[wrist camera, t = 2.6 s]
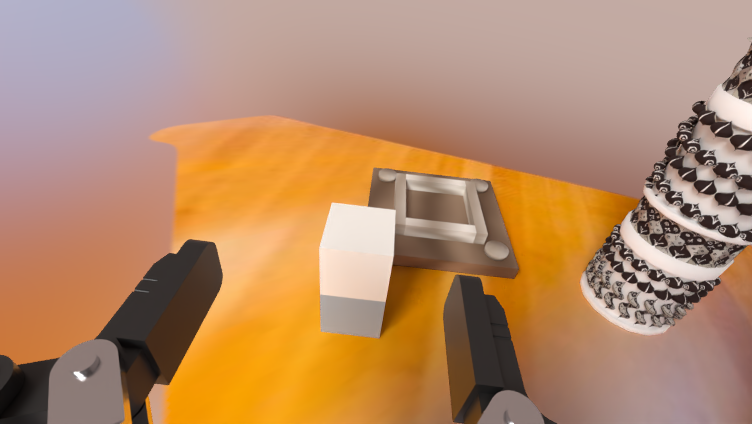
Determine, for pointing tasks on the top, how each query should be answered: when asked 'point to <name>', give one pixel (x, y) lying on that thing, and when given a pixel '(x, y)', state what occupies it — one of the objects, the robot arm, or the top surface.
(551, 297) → the top surface
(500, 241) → the socket plate
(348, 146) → the top surface
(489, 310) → the robot arm
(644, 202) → the decorative candle
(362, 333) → the post
